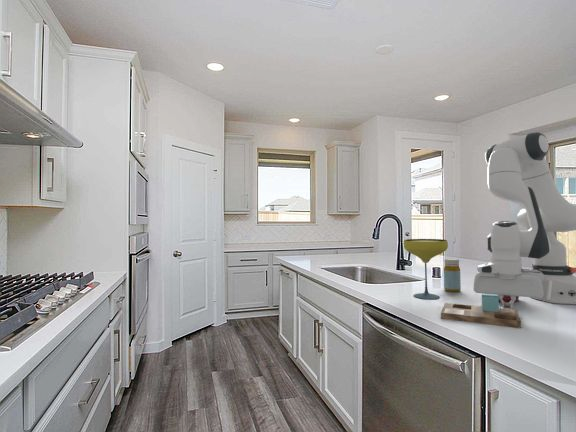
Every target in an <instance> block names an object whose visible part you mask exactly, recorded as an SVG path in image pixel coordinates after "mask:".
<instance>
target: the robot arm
mask: <svg viewBox="0 0 576 432" xmlns="http://www.w3.org/2000/svg"><path fill="white" fill-rule="evenodd" d="M549 151H550V145H549V141H548V139H547V137H546V135H545V134H543V133H541V132H539V131H538V132H530V133H527V134H525V135H520V136H515V137H512V138H510V139H508V140H505V141H502V142H501V143H498V144H494V145H491V146H490V147H488V148H487V149H486V152H485V153H484V160H485V163H486V165H487V172H486V173H487V179H486V180H487V187H488V191H489V192H490V193H491V194H492V195H493V196H494V197H496V198H497V199H500V200H502V201H507V202H511V203H514V204H516V205H519V206H521V207H522V209H520V211H519V212H518V213H517V217H516V221H517V222H515V221H511V220H501V221H500V220H499V221H495V222H493V223H492V225H491V226H492V228H491V233H489V234H488V235H486V237H487V250H488V251H489V252H490V253H491V257H490V259H491V260H490V261H489V262H490V263H488V262H486V263H482V264H478V265H477V267H476V270H477V272H476V273H475V275H474V279H473V280H474V281H473V291H474V293H476V294H482V293H485V294H497V295H498V297H499V299H500V301H501V302H500V303H501V304H502V305H501V308H503V309H513V304H514V303H515V302H514V301H515V300H516V296H519V297H523V298H531V299H534V300H535V299H536V300H538V301H539V300H540V301H544V302H548V303H551V304H561V305H576V276H575V275H574V274H576V268H575V267H571V266H569V265H568V264H567V247H566V245H565V244H564V243H563V242H560V241H559V239H558V238H557V237H556V235H555V233H556V232H557V233H567V232H573V231H576V206H575V205H574V204H572V203H571V202H569V201H568V200H567V199H566V198H565V197H564V196H563V195H562V194H561V192H560V191H559V189H558V188H557V185H556V183H555V180H554V177H553V175H552V172H551V169H550V166H549V164H548V162H547V160H546V158H545V157H546V156H547V155H548V152H549ZM520 228H521V229H522V230H521V229H520ZM522 258H528V259H529V258H530V259H532V261H533V263H531V264H532V265H531V268H530V269H529V268H522V265H523V264H522ZM503 295H509V296H511V301H510V302H504V301H503V299H502V298H503Z"/></svg>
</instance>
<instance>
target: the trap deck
mask: <svg viewBox="0 0 576 432" xmlns="http://www.w3.org/2000/svg"><path fill="white" fill-rule="evenodd" d="M440 319H442V320H453V321H459V322H460V321H461V322H467V323H469V322H470V323H478V324H485V325H493V326H500V327H501V326H502V327H508V328H509V327H510V328H519V329H522V321H521V317H520V314H519V312H518V309H513V308H512V309H509V308H502V307H501V308H500V307H499V312H492V311H482V305H480V306H479V305H470V304H462V303H461V304H460V303H452V302H451V303H450V302H444V305H443V306H442V309H441V311H440Z"/></svg>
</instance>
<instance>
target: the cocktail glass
mask: <svg viewBox="0 0 576 432" xmlns="http://www.w3.org/2000/svg"><path fill="white" fill-rule="evenodd" d="M403 247H404V249H405V250H406V251H407V252H408V253H410V254H412V255H413V256H415V257H417V258H419V259H420V260H421V261H422V263H424V273H425V274H424V275H425V276H424V283H425V284H424V286H425V287H424V292H423V293H422V292H420V293H419V292H418V293H415V294H413V297H414V298H417V299H420V300H427V301H428V300H430V301H431V300H439V299H440V298H441V296H440V295H438V294H433V293H430V292H429V289H428V275H427V274H428V272H427V264H428V263H429V262H430V261H431V260H432V259H433V258H434V257H437V256H438V255H439V256H440V255H442V254H443V253H444V252H445V251H447V249H448V247H449V244H448V240H446V239H439V238H438V239H437V238H410V239H404V240H403Z"/></svg>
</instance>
